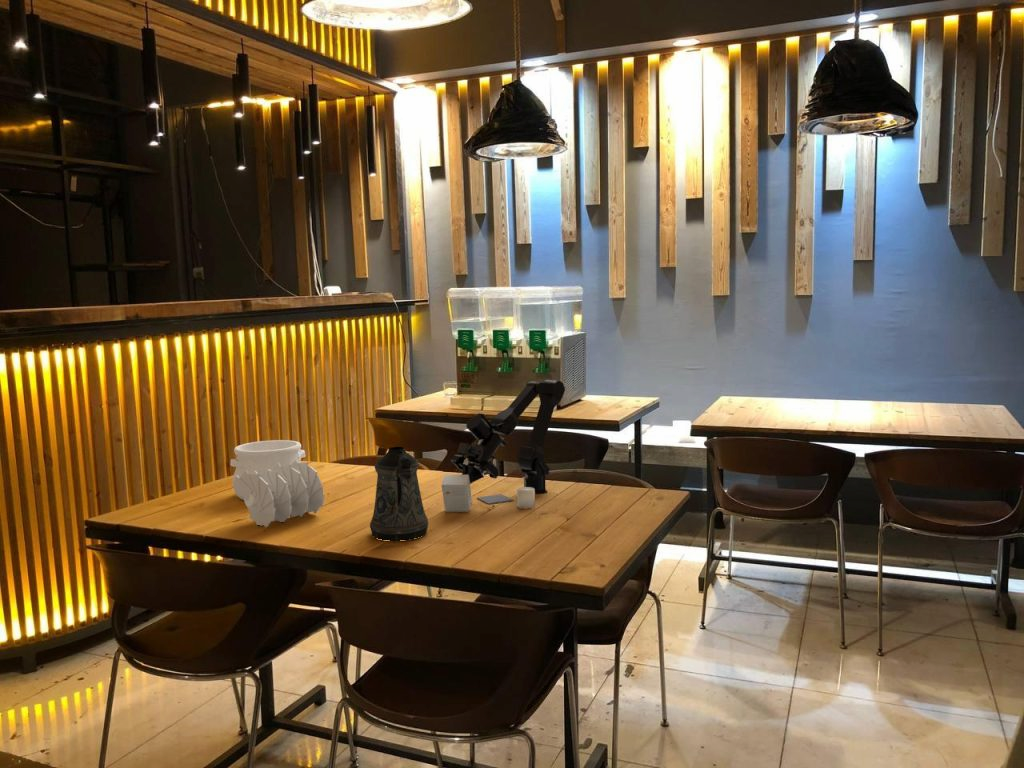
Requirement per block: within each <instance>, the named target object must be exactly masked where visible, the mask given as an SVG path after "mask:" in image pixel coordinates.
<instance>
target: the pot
mask: <svg viewBox="0 0 1024 768" xmlns="http://www.w3.org/2000/svg"><path fill="white" fill-rule="evenodd" d="M233 451H234V454H235V455H236V456H237V457H236V458H231V459H230V466H231V467H235V471H234V473H233V478H232V485H233V484H234V480H235V477H236V476H238V477H240V476H241V475H242V474H243V473H244V472H245V471H248V473H249V474H254V471H256V472H257V473H258V472H260V471H261V470H262V469H264V468H265V467H266V468H267V470H269V469H270V470H271V471H272V470H273V469H274V468H275V466H276V465H277V464H278V463H280V465H281V466H284V465H291V464H292V463H293V462H294V461H295V460H297V461H298V463H302V461H301V459H302V458H305V457H306V451H305V450H304V449H302V444H301V442H299V441H296V440H287V439H279V440H278V439H273V440H260V441H252V442H248V443H242V444H240V445H237V446H235V447H234V449H233ZM233 491H234V493H235V495H236V496H237V497H238V498H239V499H240V500H243V501H244V498H243V497H242V496H241V495H240V494H239V493H238V492H237V491H236V490H235V489H234V488H233Z"/></svg>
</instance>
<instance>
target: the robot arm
mask: <svg viewBox="0 0 1024 768" xmlns="http://www.w3.org/2000/svg"><path fill="white" fill-rule="evenodd" d="M565 391H566V387H565V385H564V383H563V382H562V381H561V380H555V379H552V380H551V379H545V380H543V381H542V382H540V381H528V382H527V384H526V385H525V387H524V388H523V389H522V391H520V393H519V394H518V395H517V396H516V398H515V399H514V400H513V401H512V402H511V403H510V405H509V406H508V407H507V408H505V409H503V410H502V411H499V412H498V413H497V414H496V415H494V416H493V417H492V418H491V419H490V420H488V419H487V418H486V416H485V415H484V413H480V412H478V413H477V415H475V416H473V417H471V418H470V419H468V421H467V422H466V429H467V430H468V431H469V433H471V434H472V435H473V437H475V439H477V440H478V441H479V440H481V441H480V442H479V443H475V442H474V443H472V444H469V443H464V442H460V444H459V445H458V446H459V447H458V450H457V453H458V454H453V456H452V457H451V458H450V462H451V463H452V464H454V466H455V467H457V469H458V470H459V471H460V472H461V475H469V480H470V485H471V484H473V483H474V482H477V481H478V480H481V479H484V478H485V476H484V475H485V473H489V477H490V478H491V479H495V480H496V479H497V478H498V476H499V475H500V469H498V467H497V466H496V465H495V464H494V463H493V462H492V461H493V460H494V459H495V456H494V454H495V453H496V451H497V450H498V448H499V447H500V446H502V447H507V442H506V438H505V437H502V436H501V435H505V436H509V435H511V434H512V433H513V432H514V430H515V428H516V427H517V425H518V423H519V418H520V417H521V415H523V413H525V411H526V410H527V409H528V407H529V406H530V404H532V402H533V401H534V400H535V399H536V397H539V402H540V404H539V408H538V411H537V413H536V417H535V421H534V423H533V428H532V430H531V434H530V437H529V441H528V443H527V444H526V445H525V446H524V445H521V446H520V449H519V454H518V455H517V458H518V460H517V464H518V465H519V468H520V472H521V473H522V474H525V475H524V476H525V477H523V487H532V488H534V489H535V494H543V493H547V492H548V490H547V489H546V487H547V486H546V476H548V475H549V474H550V468H551V467H549V466H548V464H546V462H545V461H544V460H545V451H544V448H543V447H544V444H545V441H546V437H547V433H548V430H549V426H550V424H551V421H552V417H553V413H554V409H555V408H556V406H557V405H558V404H559V403H560V402H561V400H562V399H563V397H564V395H565V393H566V392H565ZM460 454H462V455H460ZM464 455H465V456H464ZM490 460H492V461H490Z"/></svg>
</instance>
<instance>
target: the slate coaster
mask: <svg viewBox="0 0 1024 768" xmlns="http://www.w3.org/2000/svg"><path fill="white" fill-rule="evenodd" d="M476 499H477V500H479V501H481V502H482V501H483V503H484V502H485V504H486V503H487V504H486V505H488V504H489V505H494V504H493V503H496V504H501V503H500V502H502V503H506V502H507V503H509V502H513V501H514V499H513V498H511V497H509V496H506V495H505V494H502V493H500V494H492V495H487V496H479V497H478V496H477V497H476ZM508 501H509V502H508Z"/></svg>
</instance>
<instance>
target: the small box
mask: <svg viewBox="0 0 1024 768" xmlns="http://www.w3.org/2000/svg"><path fill="white" fill-rule="evenodd" d="M441 492H442V497H443V505H444V511H445V512H447V513H449V512H450V513H452V512H455V513H459V512H462V513H463V512H467V513H469V512H471V508H472V502H473V497H472V489H471V484H470V480H469V475H462V474H444V476H443V478H442V481H441Z"/></svg>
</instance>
